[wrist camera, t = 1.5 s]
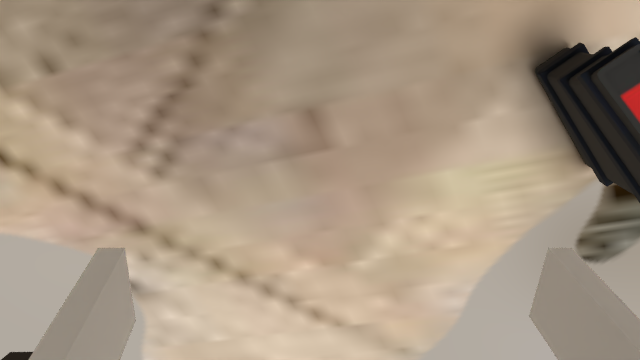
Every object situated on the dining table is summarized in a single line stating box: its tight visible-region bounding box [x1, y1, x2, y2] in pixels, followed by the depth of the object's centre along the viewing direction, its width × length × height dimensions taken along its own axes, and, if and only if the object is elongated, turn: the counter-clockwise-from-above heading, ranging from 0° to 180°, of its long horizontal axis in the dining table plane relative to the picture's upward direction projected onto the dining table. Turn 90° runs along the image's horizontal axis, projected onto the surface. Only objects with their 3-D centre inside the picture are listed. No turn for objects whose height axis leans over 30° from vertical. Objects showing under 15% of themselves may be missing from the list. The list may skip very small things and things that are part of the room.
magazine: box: [535, 38, 640, 202], centre depth 36 cm, size 4×13×15 cm, turn 37°
